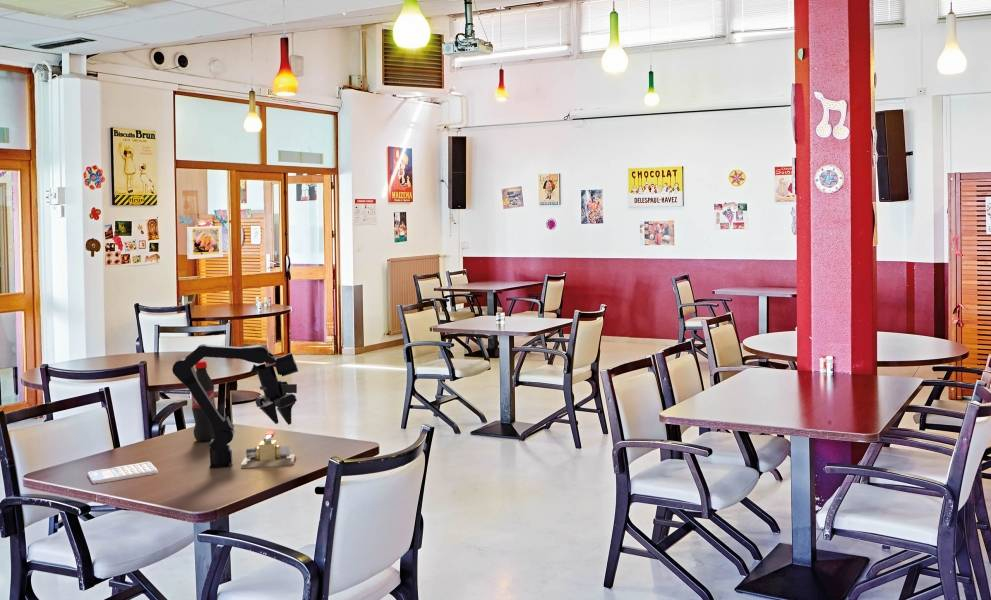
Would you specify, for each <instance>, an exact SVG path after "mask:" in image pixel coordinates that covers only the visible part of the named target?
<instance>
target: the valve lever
mask: <svg viewBox="0 0 991 600" xmlns="http://www.w3.org/2000/svg"><path fill="white" fill-rule="evenodd" d="M275 434H276V431H275V430H274V429H273V430H272V429H271V430H270V429H269V430H267V432H266V434H265V437H264V438H263V441H264V442H271V441H272V438H274V436H275Z"/></svg>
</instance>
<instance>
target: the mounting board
mask: <svg viewBox="0 0 991 600" xmlns="http://www.w3.org/2000/svg"><path fill="white" fill-rule="evenodd" d="M296 455H297V454H296V453H292V454H291V453H290V457H287V459H276V461H264V462H260V460H256V461H250V459H247V457H246V456H245V457H244V458H243V460H242V461H241V463H240V468H241V469H246V468H248V469H249V468H261V467H264V468H265V467H278V466H293V465H294V463H295V460H296V458H297V457H296Z"/></svg>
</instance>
